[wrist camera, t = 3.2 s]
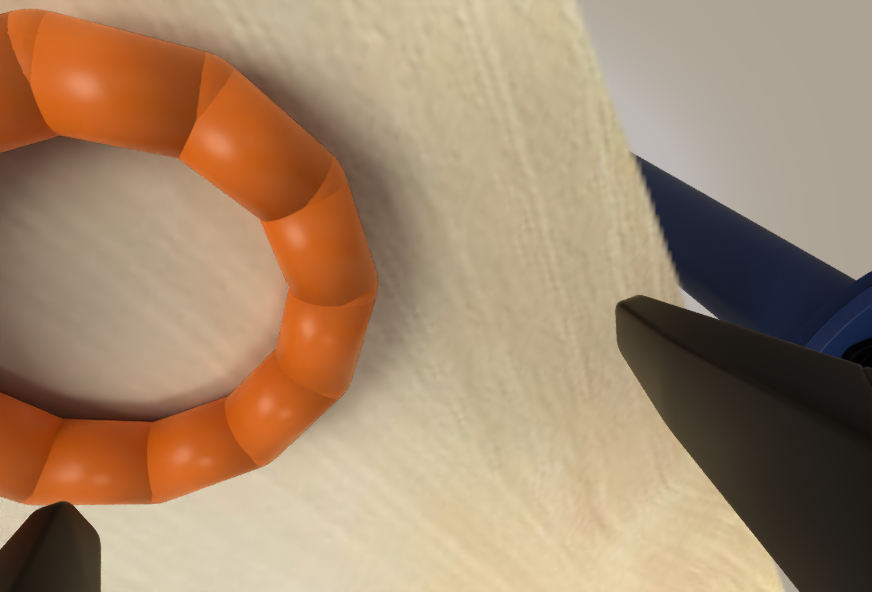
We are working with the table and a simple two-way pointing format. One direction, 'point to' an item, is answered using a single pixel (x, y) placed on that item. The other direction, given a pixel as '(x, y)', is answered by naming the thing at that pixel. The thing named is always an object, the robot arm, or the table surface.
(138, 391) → the table surface
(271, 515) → the table surface
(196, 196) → the table surface
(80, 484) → the ring
